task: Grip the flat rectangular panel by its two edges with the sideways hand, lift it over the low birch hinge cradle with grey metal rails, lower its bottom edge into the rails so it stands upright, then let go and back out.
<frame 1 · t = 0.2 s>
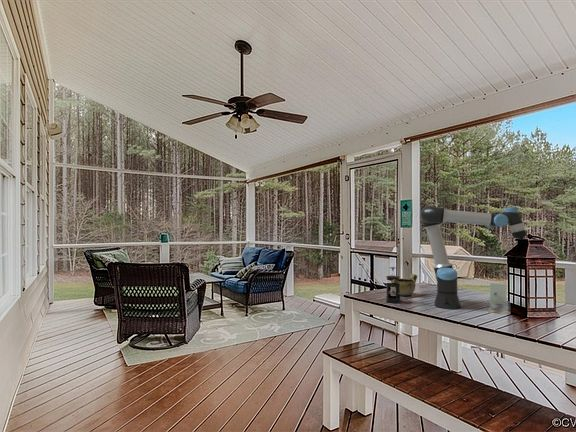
hand: (530, 264, 220), 27 cm above the table, tool tilted 15°, fingers open, 13 cm apart
flat rectangular panel: (498, 310, 213), on the table
cradle: (498, 312, 208), on the table
french press: (392, 302, 238), on the table
ceramic bowl: (403, 295, 261), on the table
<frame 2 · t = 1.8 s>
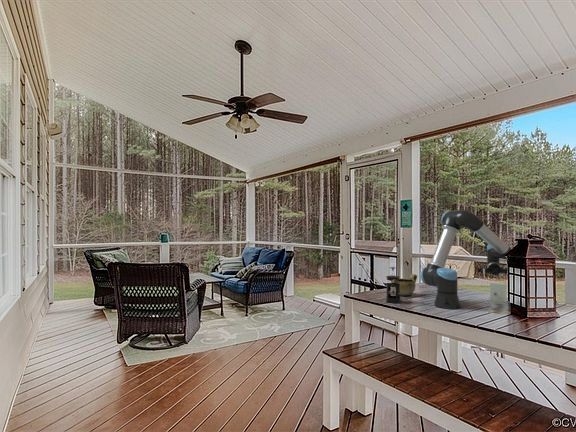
hand: (496, 272, 222), 21 cm above the table, tool horizontal, fingers open, 13 cm apart
nothing on the table moved.
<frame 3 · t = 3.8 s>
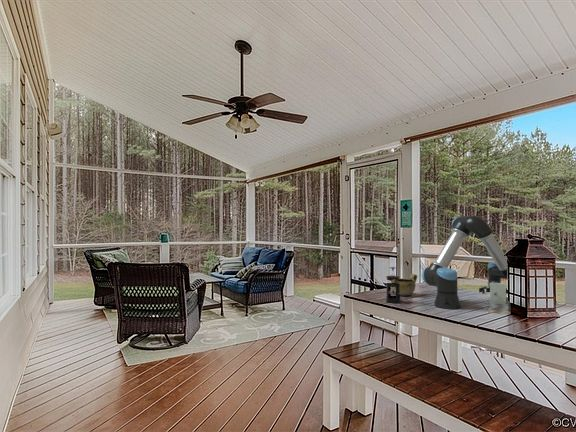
hand: (498, 293, 219), 9 cm above the table, tool horizontal, fingers open, 13 cm apart
nothing on the table moved.
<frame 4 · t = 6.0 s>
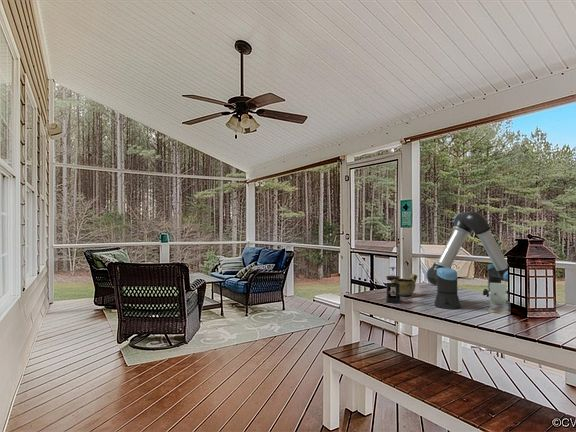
hand: (498, 296, 209), 9 cm above the table, tool horizontal, fingers closed on flat rectangular panel, 8 cm apart
flat rectangular panel: (498, 310, 213), on the table, touching gripper
everything else where it was.
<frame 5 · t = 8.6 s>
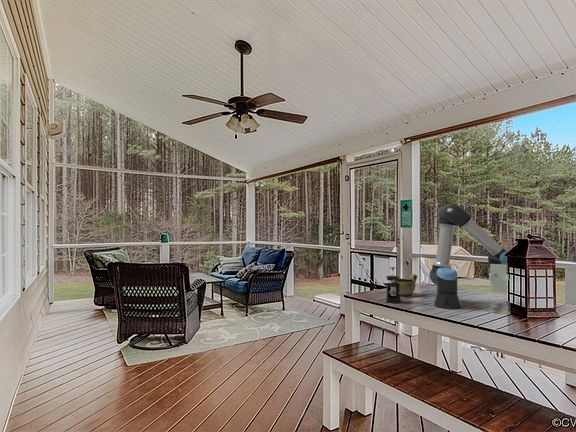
hand: (499, 277, 205), 21 cm above the table, tool horizontal, fingers closed on flat rectangular panel, 8 cm apart
flat rectangular panel: (498, 291, 209), point 12 cm above the table, touching gripper
everything else where it was.
when the fingers open (12 cm above the table, at t = 11.1 s): flat rectangular panel drops 1 cm, resting on cradle.
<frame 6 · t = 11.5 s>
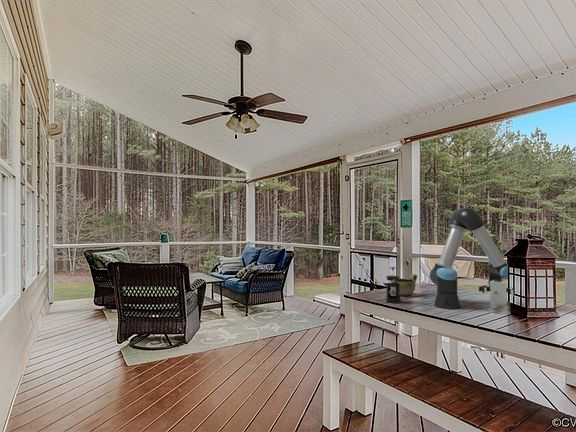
hand: (498, 292, 206), 12 cm above the table, tool horizontal, fingers open, 13 cm apart
flat rectangular panel: (498, 309, 208), point 1 cm above the table, touching cradle
everything else where it was.
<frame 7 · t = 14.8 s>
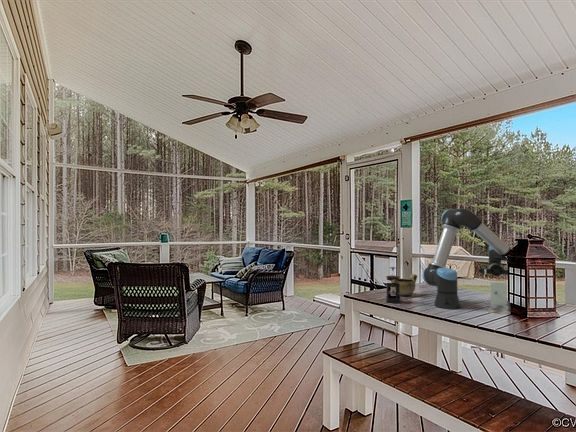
hand: (498, 273, 218), 21 cm above the table, tool horizontal, fingers open, 13 cm apart
nothing on the table moved.
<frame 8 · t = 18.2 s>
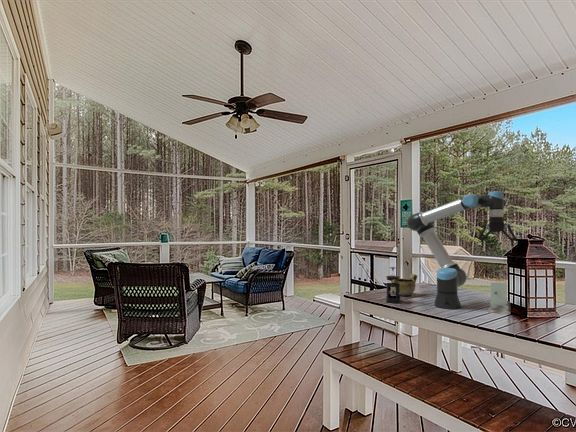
hand: (497, 251, 217), 35 cm above the table, tool pointing down, fingers open, 13 cm apart
nothing on the table moved.
at the end: flat rectangular panel 0.1 cm off-centre on the cradle, point 1.5 cm above the cradle's base; flat rectangular panel tilted 0°; the gripper is holding nothing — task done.
